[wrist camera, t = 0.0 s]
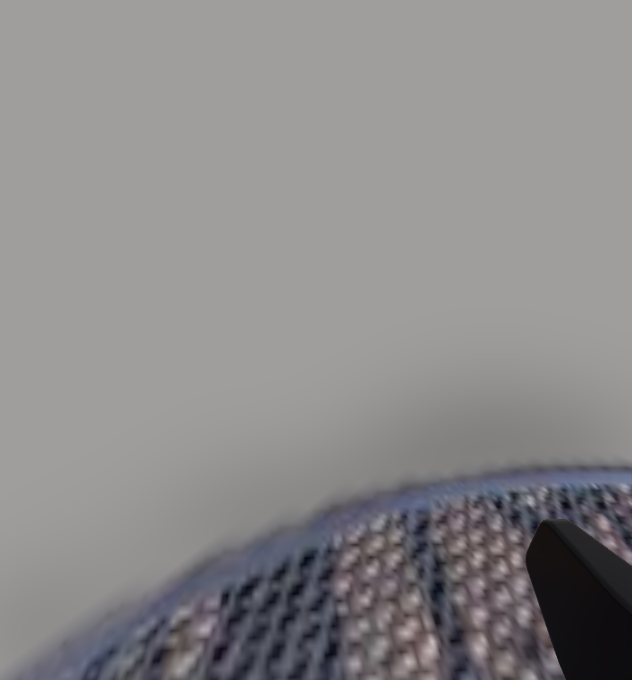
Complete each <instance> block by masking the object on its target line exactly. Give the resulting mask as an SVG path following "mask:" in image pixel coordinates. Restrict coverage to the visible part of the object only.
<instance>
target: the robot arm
mask: <svg viewBox="0 0 632 680" xmlns="http://www.w3.org/2000/svg"><path fill="white" fill-rule="evenodd" d="M526 566H527V570H528V573H529V576H530V579H531V582H532V585H533V588H534V591H535V594H536V597H537V600H538V603H539V606H540V609H541V612H542V615H543V618H544V621H545V624H546V627H547V630H548V633H549V636H550V639H551V642H552V645H553V648H554V651H555V653H556V656H557V659H558V661H559V664H560V667H561V669H562V671H563V674H564V676H565V679H566V680H632V566H631V565H630V564H629V563H627V562H626V561H625V560H623V559H622V558H620V557H619V556H618V555H616V554H615V553H614V552H612V551H611V550H609V549H608V548H607V547H605V546H604V545H603V544H601V543H600V542H599V541H597V540H596V539H594V538H593V537H592V536H590V535H589V534H588V533H586V532H585V531H583V530H582V529H581V528H579V527H578V526H577V525H575V524H574V523H572V522H571V521H569V520H566V519H546V520H543V521H542V522H541V523H540V524H539V526H538V528H537V530H536V532H535V534H534V537H533V539H532V541H531V543H530V546H529V548H528V550H527V553H526Z"/></svg>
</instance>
